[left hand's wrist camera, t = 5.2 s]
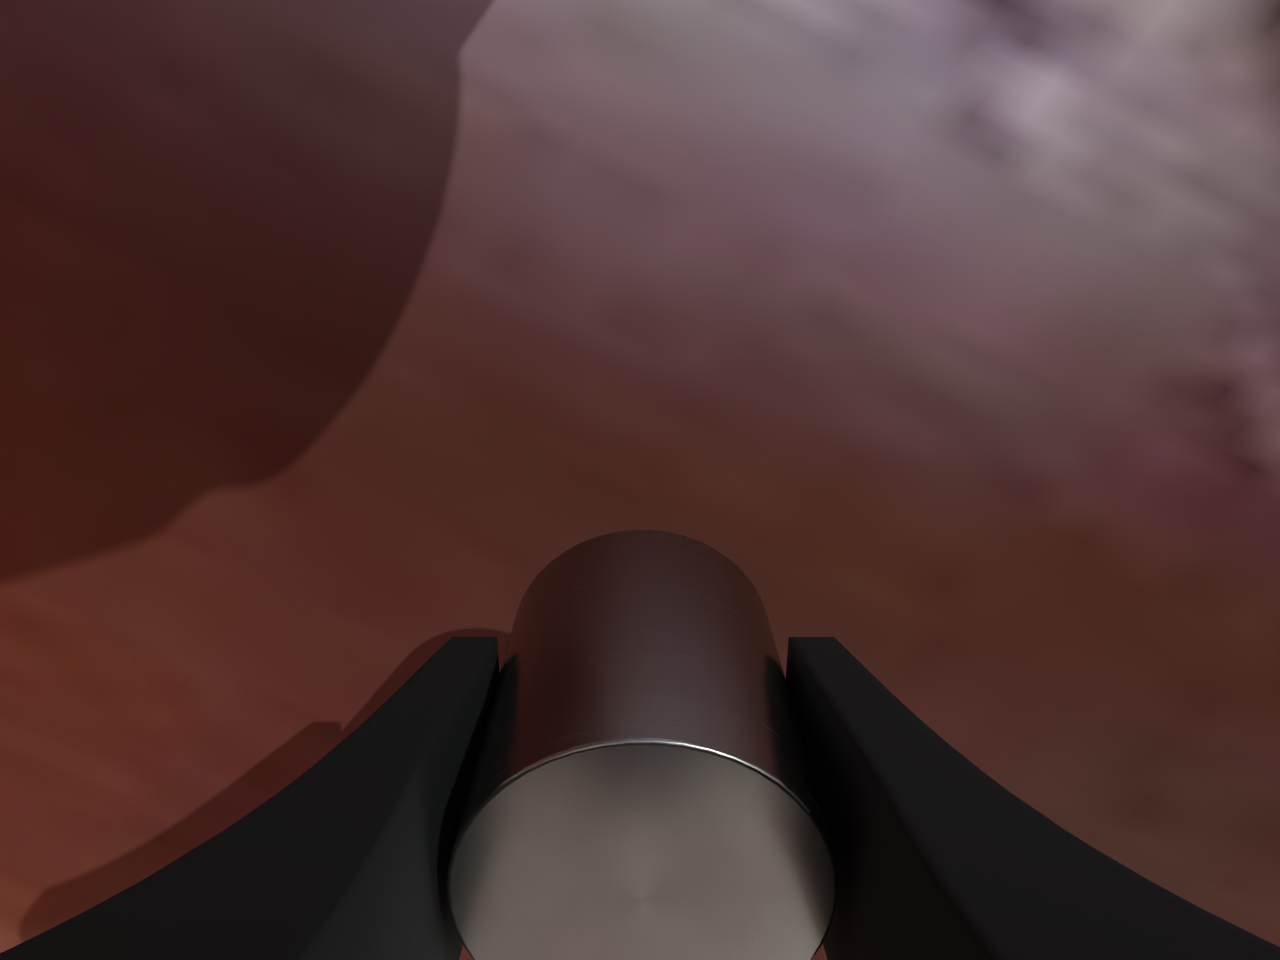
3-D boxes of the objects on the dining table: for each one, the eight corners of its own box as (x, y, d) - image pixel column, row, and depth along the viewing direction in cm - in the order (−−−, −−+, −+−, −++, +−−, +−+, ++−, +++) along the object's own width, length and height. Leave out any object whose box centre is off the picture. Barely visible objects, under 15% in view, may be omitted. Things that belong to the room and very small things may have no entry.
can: (674, 787, 14) (691, 1082, 9) (465, 676, 13) (376, 941, 8) (822, 614, 12) (920, 857, 8) (602, 479, 12) (579, 670, 7)
